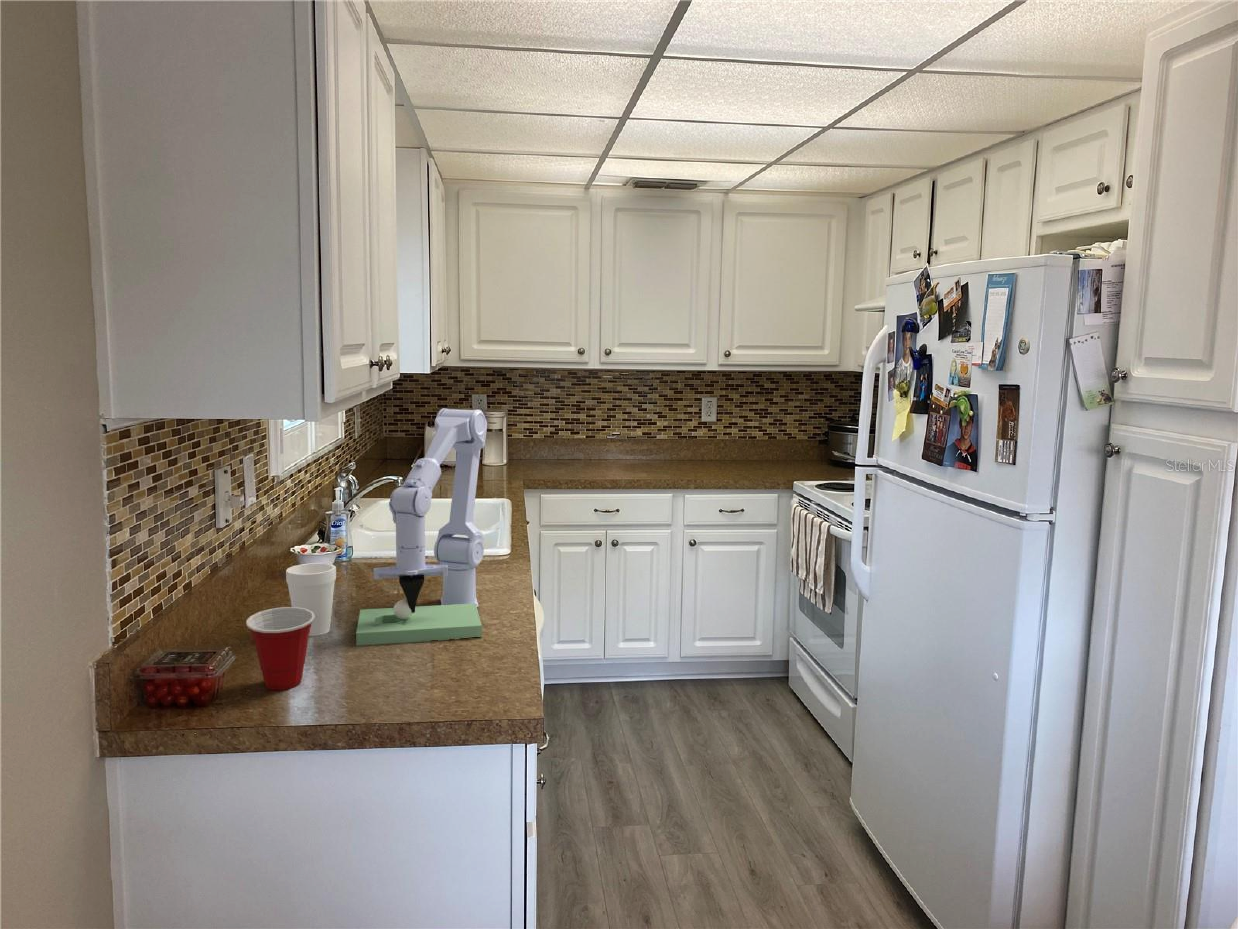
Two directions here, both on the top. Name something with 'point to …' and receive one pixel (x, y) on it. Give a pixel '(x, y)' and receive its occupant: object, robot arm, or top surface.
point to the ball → (402, 609)
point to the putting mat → (418, 624)
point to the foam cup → (313, 592)
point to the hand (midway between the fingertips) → (411, 611)
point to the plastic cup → (281, 644)
